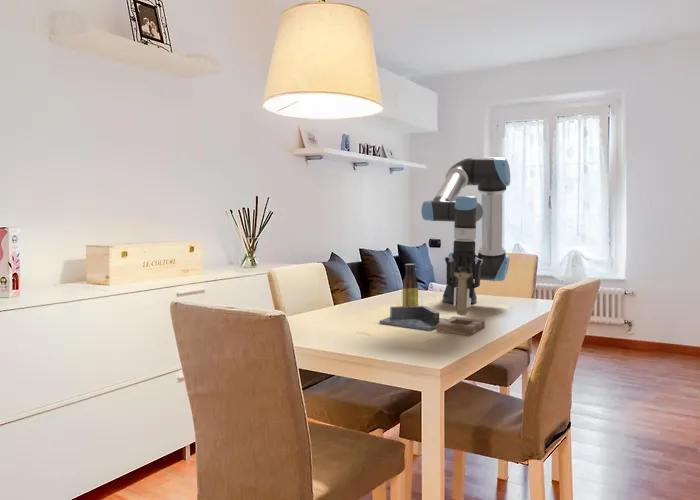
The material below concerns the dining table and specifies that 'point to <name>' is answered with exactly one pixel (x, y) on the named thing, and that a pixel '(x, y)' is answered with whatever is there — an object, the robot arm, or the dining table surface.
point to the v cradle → (413, 317)
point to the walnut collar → (461, 325)
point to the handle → (462, 291)
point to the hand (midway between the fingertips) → (462, 305)
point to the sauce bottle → (410, 287)
